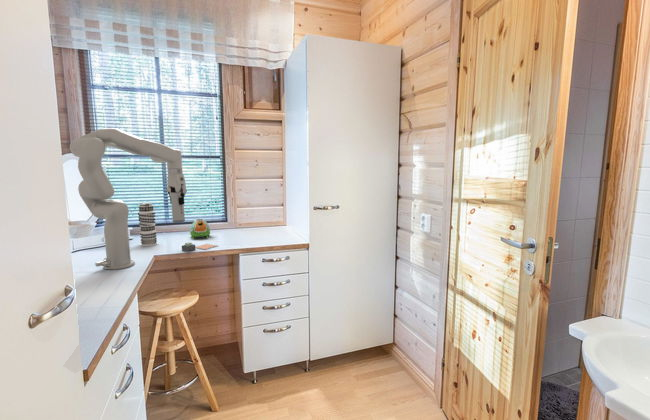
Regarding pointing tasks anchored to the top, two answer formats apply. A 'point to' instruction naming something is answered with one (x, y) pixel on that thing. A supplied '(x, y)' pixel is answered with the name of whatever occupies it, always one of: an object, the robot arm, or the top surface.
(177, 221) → the travel mug
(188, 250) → the button base
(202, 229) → the turtle holder
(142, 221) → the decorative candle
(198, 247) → the picture square
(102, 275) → the top surface
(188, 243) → the button
